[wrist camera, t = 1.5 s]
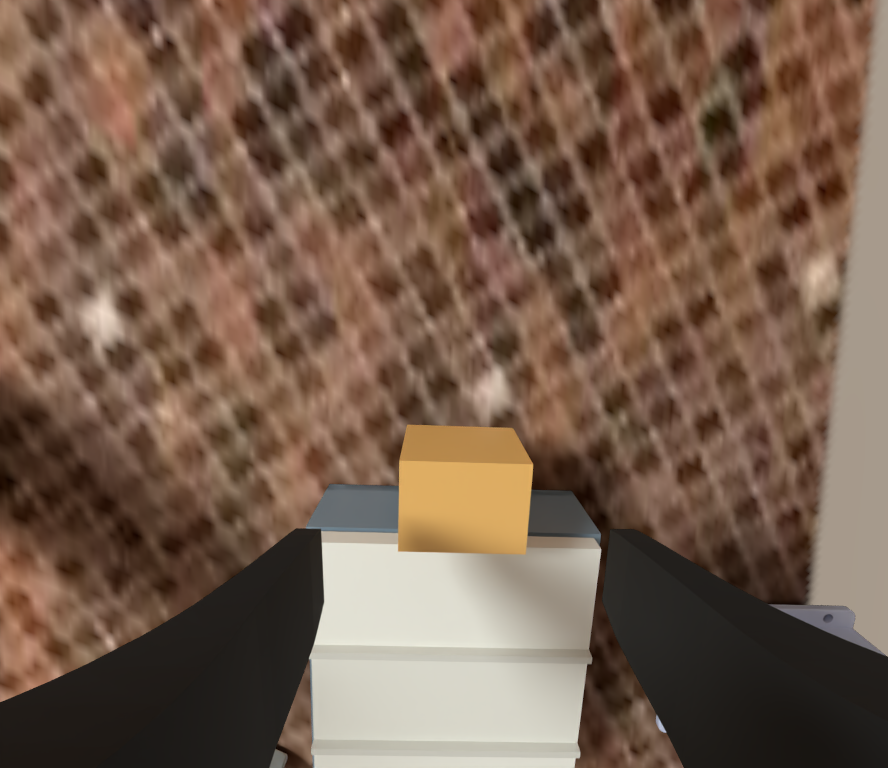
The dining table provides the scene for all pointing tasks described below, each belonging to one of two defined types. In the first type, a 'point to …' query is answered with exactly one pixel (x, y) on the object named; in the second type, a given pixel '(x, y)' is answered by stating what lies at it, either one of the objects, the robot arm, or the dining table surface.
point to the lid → (454, 620)
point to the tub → (381, 512)
